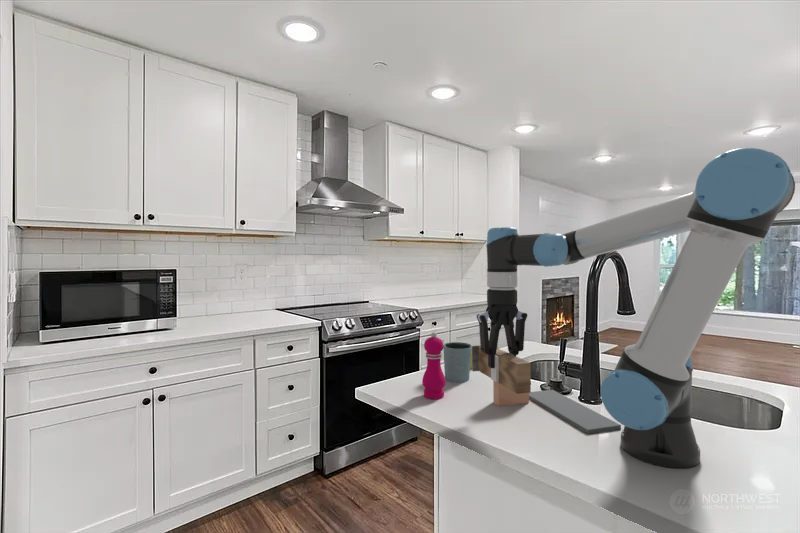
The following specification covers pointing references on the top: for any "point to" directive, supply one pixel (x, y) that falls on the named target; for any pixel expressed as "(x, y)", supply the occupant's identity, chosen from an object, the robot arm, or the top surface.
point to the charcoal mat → (573, 412)
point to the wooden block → (505, 369)
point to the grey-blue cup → (457, 361)
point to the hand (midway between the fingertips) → (502, 379)
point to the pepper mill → (433, 368)
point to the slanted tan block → (507, 396)
